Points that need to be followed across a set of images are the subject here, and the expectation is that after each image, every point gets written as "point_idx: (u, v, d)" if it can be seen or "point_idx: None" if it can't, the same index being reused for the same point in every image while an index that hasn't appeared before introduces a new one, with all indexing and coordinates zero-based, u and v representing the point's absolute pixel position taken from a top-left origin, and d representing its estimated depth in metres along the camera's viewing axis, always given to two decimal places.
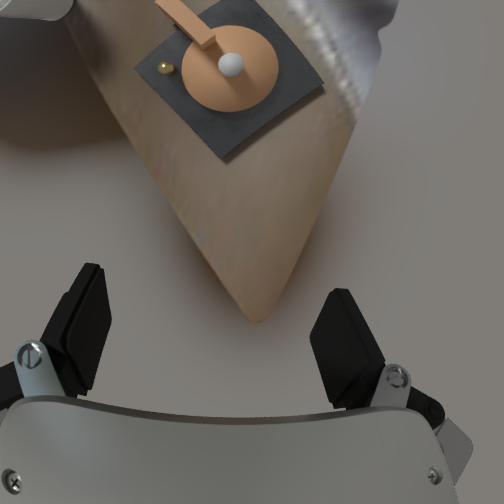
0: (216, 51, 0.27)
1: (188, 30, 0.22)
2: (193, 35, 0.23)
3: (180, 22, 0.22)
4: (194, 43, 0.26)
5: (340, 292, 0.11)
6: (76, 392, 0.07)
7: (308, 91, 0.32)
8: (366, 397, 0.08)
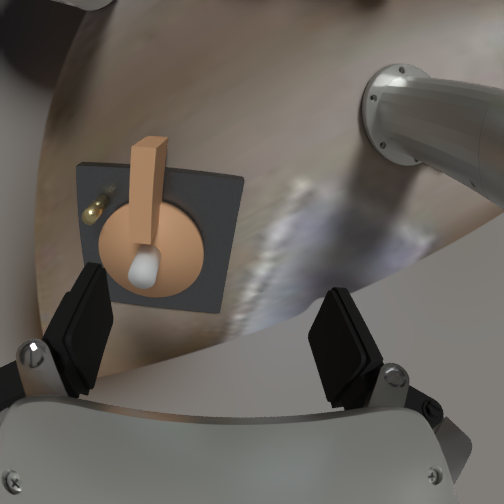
0: None
1: (130, 217, 0.22)
2: (130, 227, 0.22)
3: (131, 201, 0.21)
4: None
5: (338, 291, 0.11)
6: (78, 391, 0.07)
7: (199, 310, 0.36)
8: (364, 396, 0.08)
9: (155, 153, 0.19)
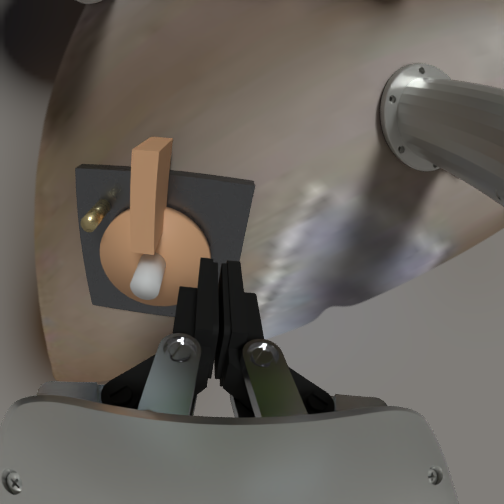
0: None
1: (132, 226, 0.20)
2: (132, 236, 0.21)
3: (132, 209, 0.20)
4: None
5: (228, 264, 0.11)
6: None
7: None
8: (232, 372, 0.08)
9: (158, 157, 0.18)
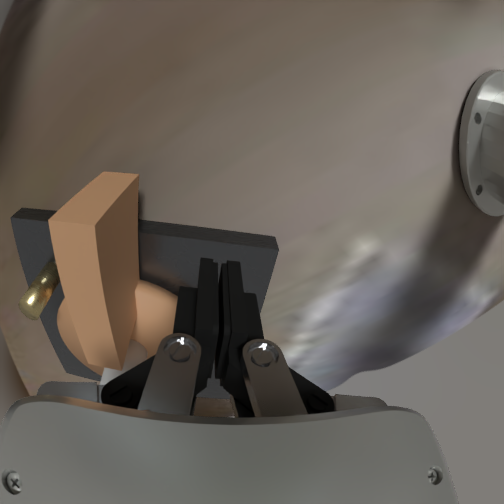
0: None
1: (80, 336, 0.11)
2: (84, 347, 0.11)
3: (73, 314, 0.10)
4: None
5: (228, 264, 0.11)
6: None
7: (206, 396, 0.25)
8: (232, 372, 0.08)
9: (95, 235, 0.08)
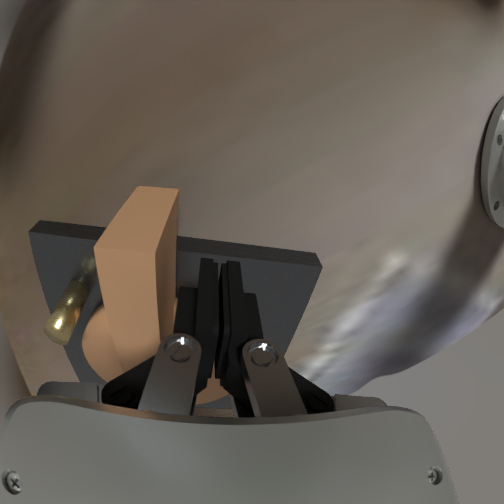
0: None
1: (123, 365, 0.11)
2: None
3: (118, 345, 0.10)
4: None
5: (228, 264, 0.11)
6: (206, 381, 0.09)
7: (231, 408, 0.25)
8: (231, 372, 0.08)
9: (154, 264, 0.08)
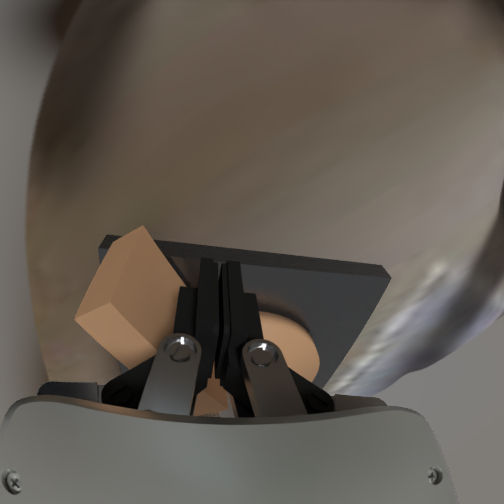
0: None
1: None
2: None
3: None
4: None
5: (228, 263, 0.11)
6: (206, 381, 0.09)
7: None
8: (231, 372, 0.08)
9: (117, 310, 0.08)
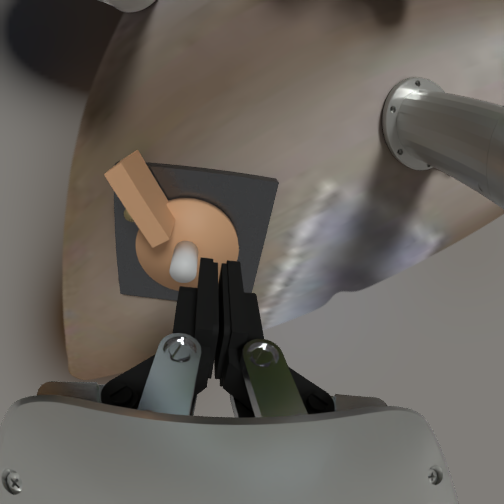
0: (174, 231, 0.30)
1: (140, 227, 0.24)
2: (145, 235, 0.25)
3: (132, 214, 0.24)
4: None
5: (228, 264, 0.11)
6: None
7: None
8: (232, 372, 0.08)
9: (123, 166, 0.21)
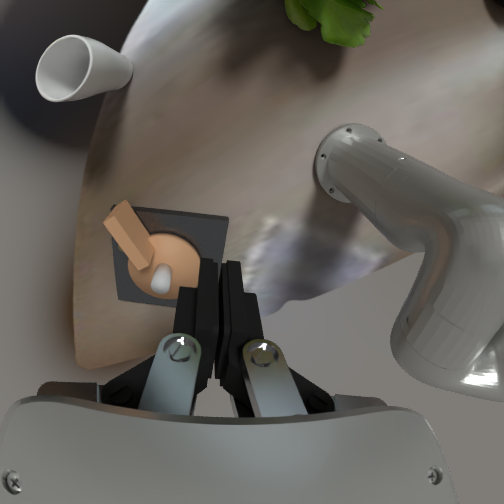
0: (155, 257, 0.41)
1: (129, 257, 0.36)
2: (133, 262, 0.36)
3: (123, 248, 0.35)
4: None
5: (228, 264, 0.11)
6: None
7: None
8: (231, 372, 0.08)
9: (115, 218, 0.32)
